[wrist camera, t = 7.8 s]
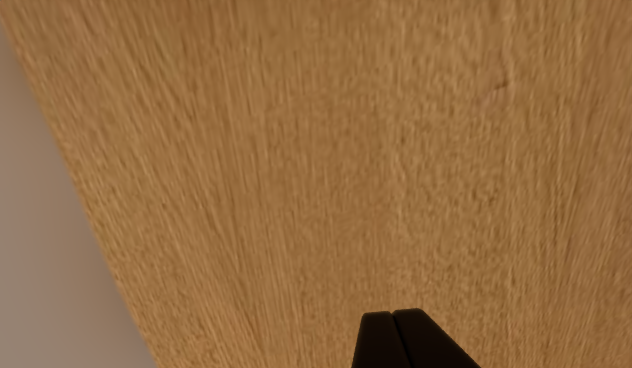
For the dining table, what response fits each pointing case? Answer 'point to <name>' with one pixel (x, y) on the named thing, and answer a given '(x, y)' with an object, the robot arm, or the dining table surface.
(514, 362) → the dining table surface
